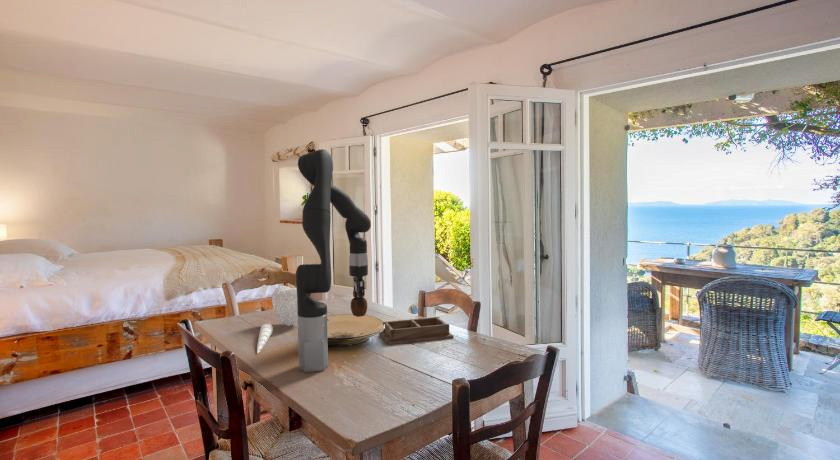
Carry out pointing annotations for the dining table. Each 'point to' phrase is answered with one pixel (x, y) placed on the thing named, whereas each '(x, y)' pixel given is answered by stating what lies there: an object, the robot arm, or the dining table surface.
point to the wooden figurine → (357, 309)
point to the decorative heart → (286, 304)
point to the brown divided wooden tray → (415, 330)
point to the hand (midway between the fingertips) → (359, 304)
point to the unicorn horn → (264, 336)
